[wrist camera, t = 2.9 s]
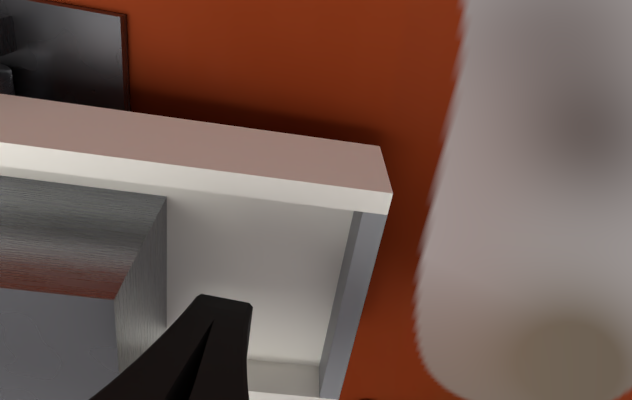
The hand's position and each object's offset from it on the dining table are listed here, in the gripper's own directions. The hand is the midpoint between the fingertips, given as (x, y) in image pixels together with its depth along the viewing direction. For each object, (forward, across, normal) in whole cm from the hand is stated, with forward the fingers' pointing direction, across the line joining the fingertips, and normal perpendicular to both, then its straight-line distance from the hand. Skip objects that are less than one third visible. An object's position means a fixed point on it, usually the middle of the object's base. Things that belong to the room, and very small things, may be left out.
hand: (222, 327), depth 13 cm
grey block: (+2, +5, 0) cm, 5 cm away
